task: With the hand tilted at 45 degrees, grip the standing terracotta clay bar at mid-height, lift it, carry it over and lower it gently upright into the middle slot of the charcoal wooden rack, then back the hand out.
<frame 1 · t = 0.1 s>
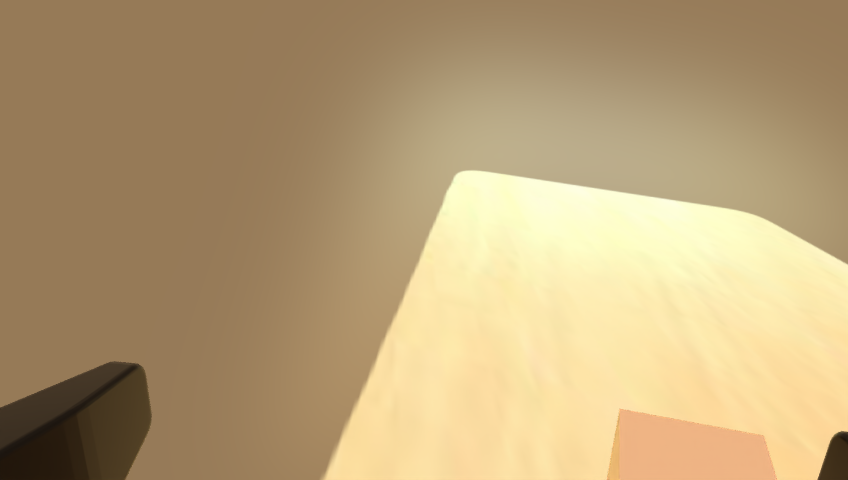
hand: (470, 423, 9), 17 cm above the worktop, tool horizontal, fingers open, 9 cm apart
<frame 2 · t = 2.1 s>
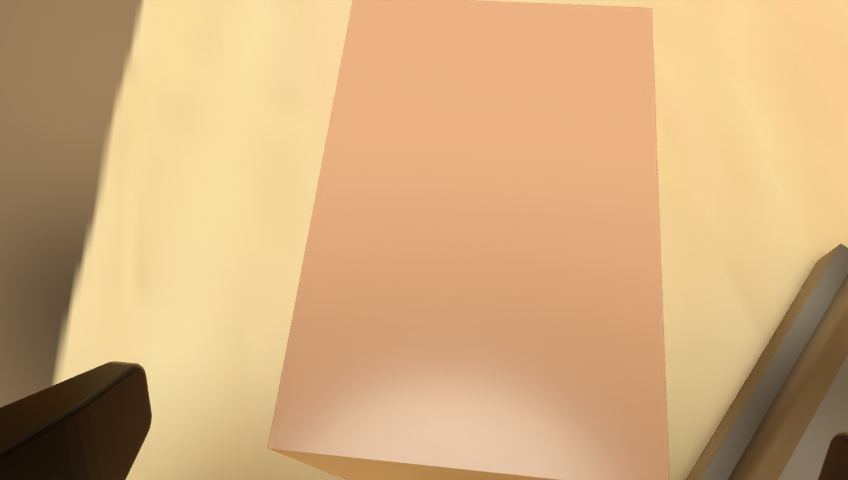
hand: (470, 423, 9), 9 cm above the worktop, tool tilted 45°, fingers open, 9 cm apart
clay bar: (471, 419, 18), on the worktop
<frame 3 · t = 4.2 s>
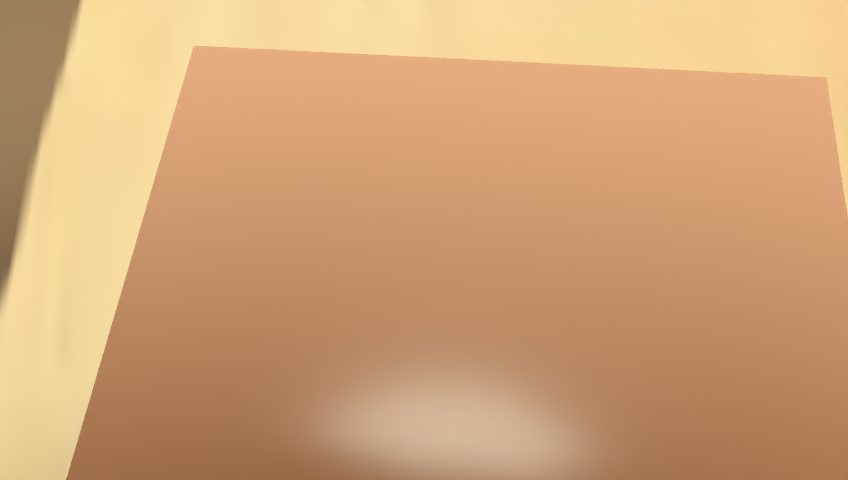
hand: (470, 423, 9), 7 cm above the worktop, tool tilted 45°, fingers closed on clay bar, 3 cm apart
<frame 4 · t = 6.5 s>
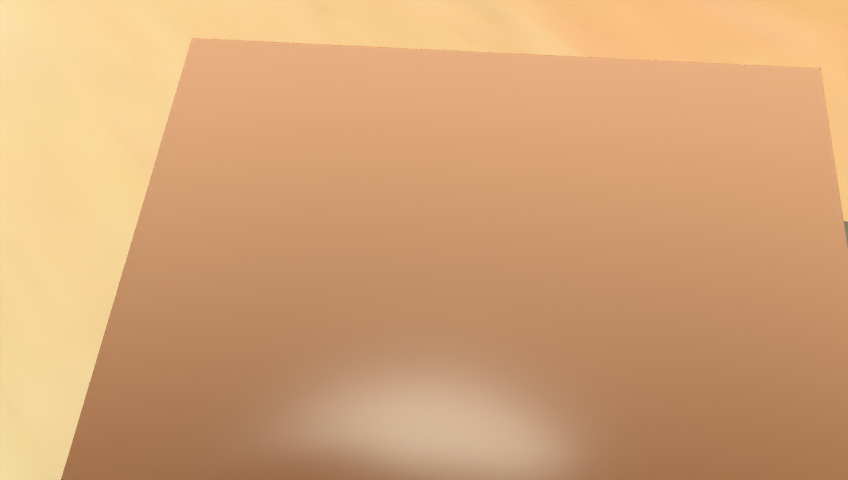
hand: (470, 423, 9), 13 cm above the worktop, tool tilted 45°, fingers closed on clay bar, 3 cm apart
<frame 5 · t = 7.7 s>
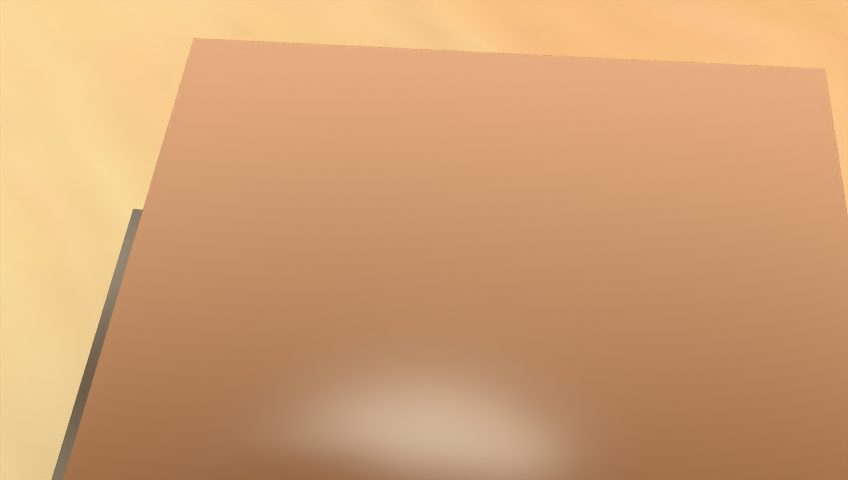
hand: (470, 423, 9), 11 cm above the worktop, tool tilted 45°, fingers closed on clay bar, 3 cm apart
rack: (468, 452, 19), on the worktop
when the fingers open (9 cm above the worktop, at t = 8.9 s): clay bar drops 1 cm, resting on rack.
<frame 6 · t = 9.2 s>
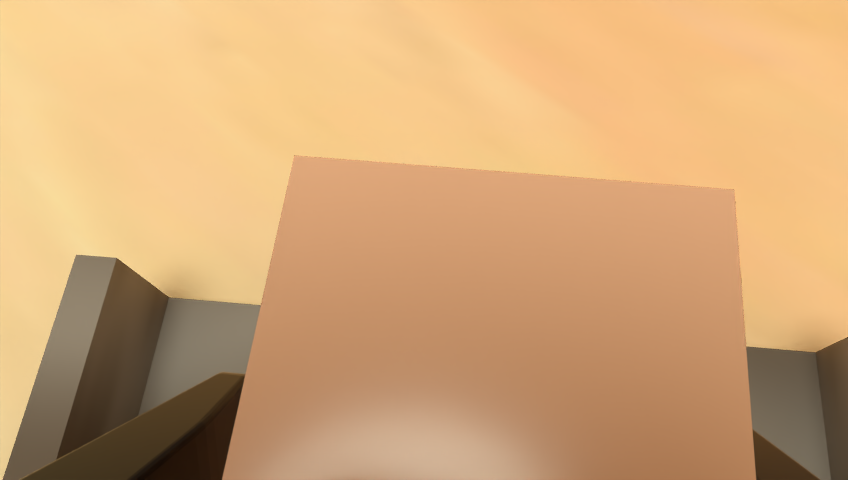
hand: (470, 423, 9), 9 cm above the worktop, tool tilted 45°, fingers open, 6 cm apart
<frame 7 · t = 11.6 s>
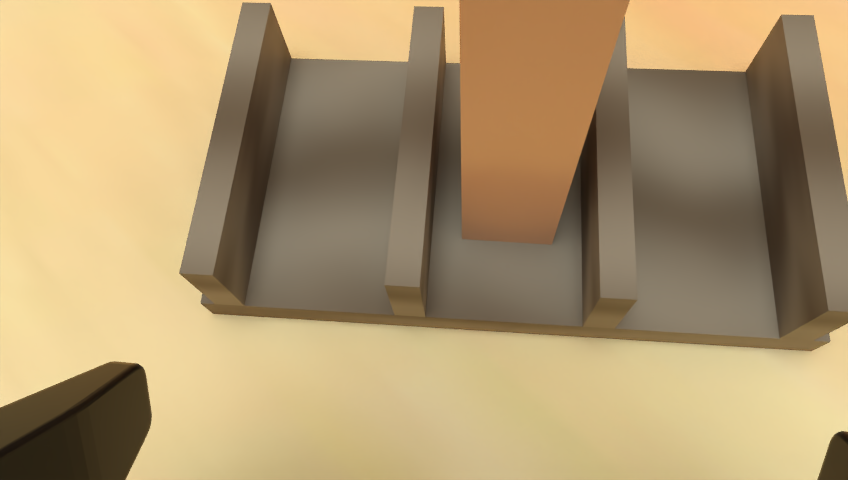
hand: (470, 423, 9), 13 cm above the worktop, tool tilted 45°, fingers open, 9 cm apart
rack: (506, 198, 24), on the worktop
clay bar: (509, 182, 23), point 1 cm above the worktop, touching rack
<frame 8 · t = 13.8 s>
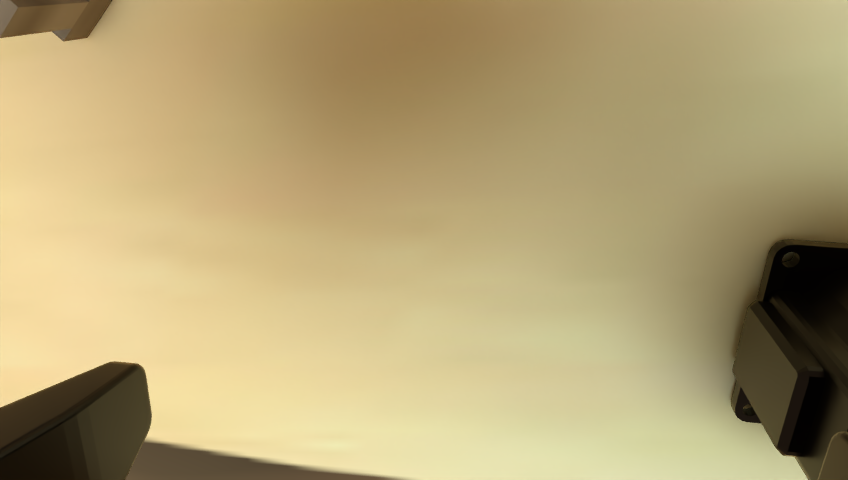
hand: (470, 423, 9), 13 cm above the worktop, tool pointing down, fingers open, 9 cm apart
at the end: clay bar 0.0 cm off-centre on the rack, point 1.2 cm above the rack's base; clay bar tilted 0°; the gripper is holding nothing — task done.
